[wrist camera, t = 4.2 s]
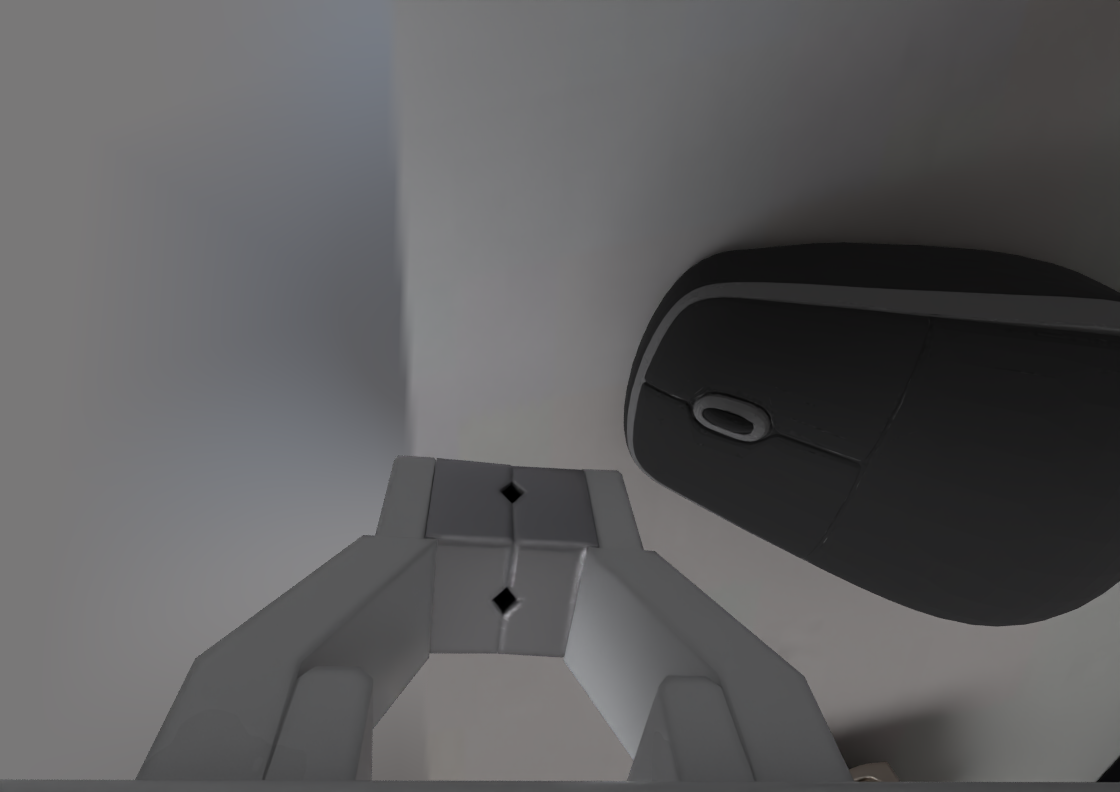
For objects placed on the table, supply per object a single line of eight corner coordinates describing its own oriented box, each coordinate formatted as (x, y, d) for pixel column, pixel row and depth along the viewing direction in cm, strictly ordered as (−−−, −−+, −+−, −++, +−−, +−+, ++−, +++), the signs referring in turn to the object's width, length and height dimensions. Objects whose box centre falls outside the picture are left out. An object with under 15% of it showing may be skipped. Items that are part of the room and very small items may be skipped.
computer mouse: (682, 171, 11) (769, 233, 8) (1228, 301, 13) (1483, 394, 10) (583, 492, 14) (612, 639, 11) (1037, 553, 17) (1181, 689, 13)
